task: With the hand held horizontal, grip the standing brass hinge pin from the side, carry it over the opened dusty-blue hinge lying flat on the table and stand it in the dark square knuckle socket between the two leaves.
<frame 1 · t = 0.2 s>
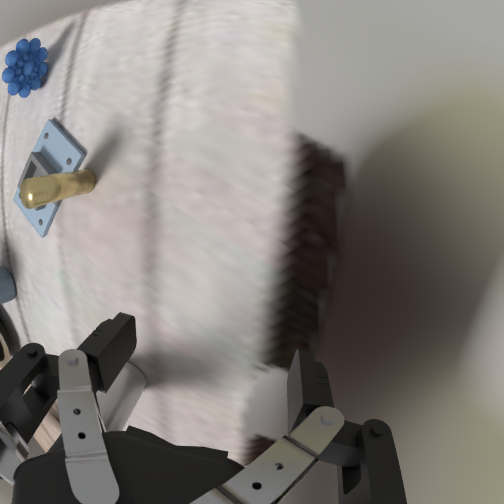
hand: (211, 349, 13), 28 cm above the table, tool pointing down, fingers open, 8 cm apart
moka pot: (8, 283, 50), on the table
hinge: (45, 179, 40), on the table
pin: (86, 181, 40), on the table
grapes: (44, 71, 33), on the table
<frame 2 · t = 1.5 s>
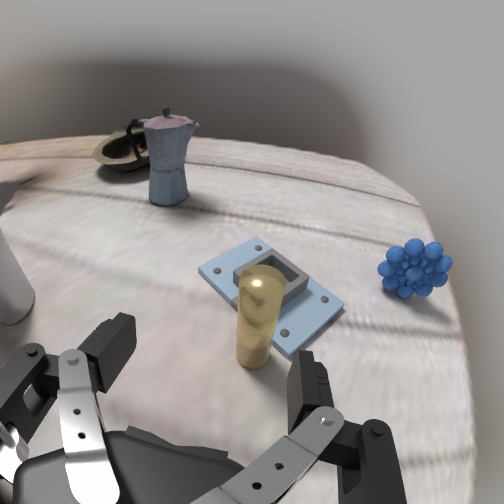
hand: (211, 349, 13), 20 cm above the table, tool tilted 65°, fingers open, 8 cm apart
moka pot: (166, 197, 59), on the table
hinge: (269, 290, 41), on the table
pin: (252, 355, 33), on the table
stone bowl: (136, 163, 73), on the table
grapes: (400, 292, 43), on the table
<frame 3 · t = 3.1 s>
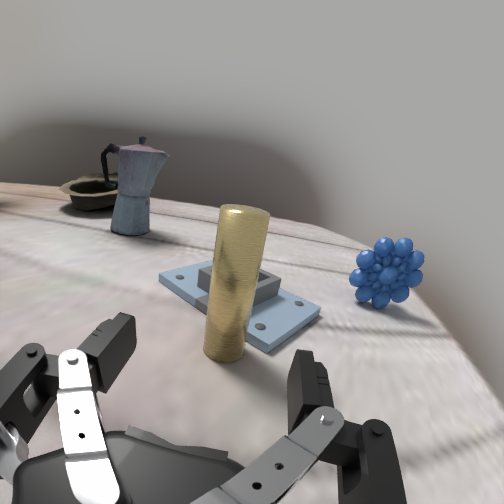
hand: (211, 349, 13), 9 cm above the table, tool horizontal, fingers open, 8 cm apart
moka pot: (128, 230, 56), on the table
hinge: (236, 299, 37), on the table
pin: (223, 349, 27), on the table
stone bowl: (99, 207, 71), on the table
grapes: (375, 306, 42), on the table
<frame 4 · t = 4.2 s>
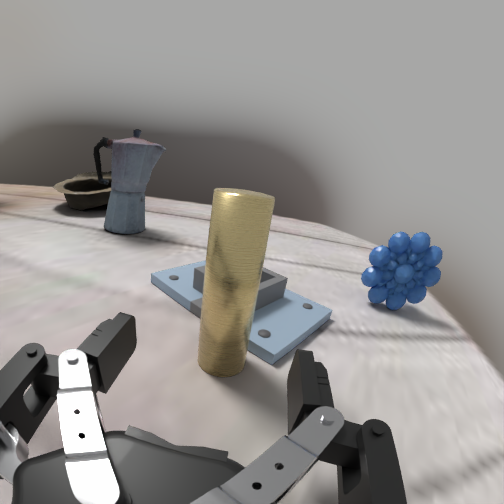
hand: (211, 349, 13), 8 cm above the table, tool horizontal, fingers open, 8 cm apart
moka pot: (122, 229, 53), on the table
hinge: (237, 301, 33), on the table
pin: (221, 361, 23), on the table
stone bowl: (94, 207, 68), on the table
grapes: (389, 307, 38), on the table
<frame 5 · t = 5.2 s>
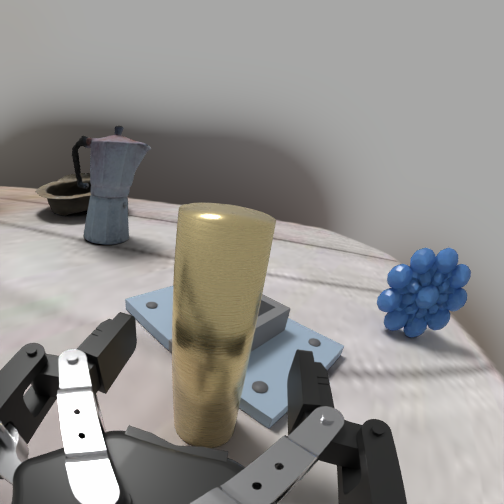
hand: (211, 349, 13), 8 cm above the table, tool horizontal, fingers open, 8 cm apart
moka pot: (104, 238, 46), on the table
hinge: (228, 336, 26), on the table
pin: (204, 424, 16), on the table
stone bowl: (79, 211, 61), on the table
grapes: (407, 333, 31), on the table
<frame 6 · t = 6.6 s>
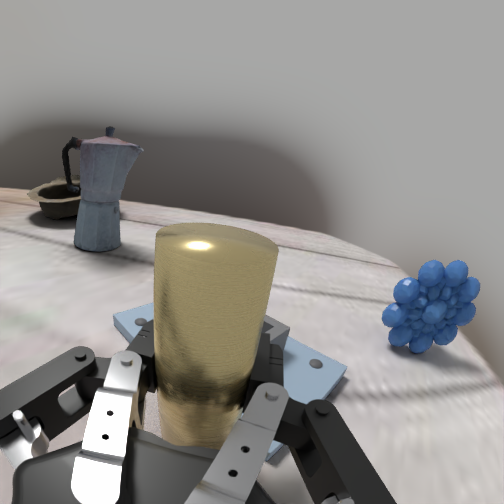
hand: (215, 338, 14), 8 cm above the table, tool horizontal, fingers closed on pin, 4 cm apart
moka pot: (95, 244, 43), on the table
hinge: (223, 356, 24), on the table
pin: (197, 458, 13), on the table, touching gripper
stone bowl: (72, 215, 58), on the table
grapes: (411, 348, 29), on the table
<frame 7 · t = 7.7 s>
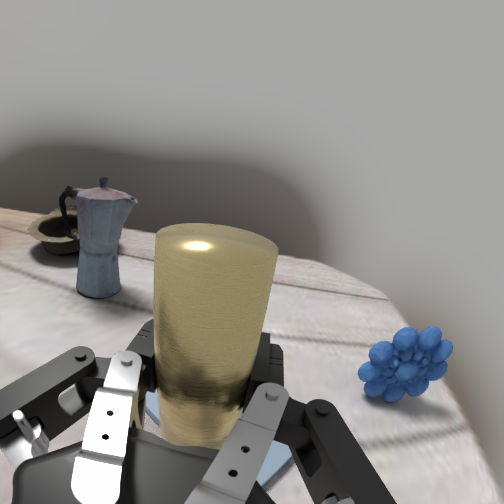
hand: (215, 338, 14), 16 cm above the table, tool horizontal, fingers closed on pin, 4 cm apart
moka pot: (96, 288, 46), on the table
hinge: (214, 411, 26), on the table
pin: (197, 458, 13), point 8 cm above the table, touching gripper
stone bowl: (72, 248, 61), on the table
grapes: (386, 396, 31), on the table
when the fingers open (10 cm above the table, at t = 11.3 s): pin stays where it is, resting on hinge.
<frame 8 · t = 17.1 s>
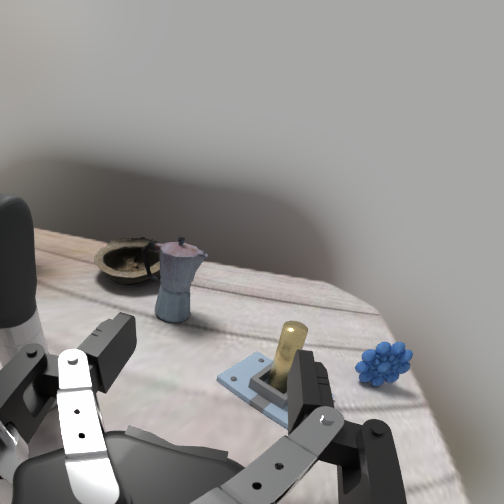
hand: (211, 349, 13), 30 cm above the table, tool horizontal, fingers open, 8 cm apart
moka pot: (170, 314, 67), on the table
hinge: (275, 392, 48), on the table
pin: (277, 388, 47), point 1 cm above the table, touching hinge
stone bowl: (132, 276, 82), on the table
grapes: (373, 382, 52), on the table
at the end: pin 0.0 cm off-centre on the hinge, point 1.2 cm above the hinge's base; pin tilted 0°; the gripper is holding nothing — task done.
